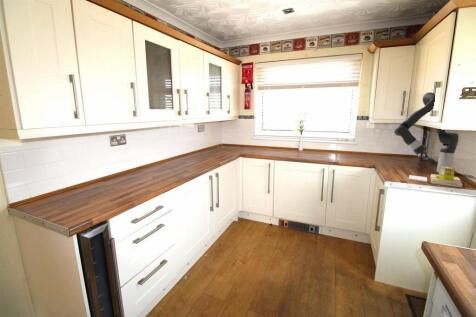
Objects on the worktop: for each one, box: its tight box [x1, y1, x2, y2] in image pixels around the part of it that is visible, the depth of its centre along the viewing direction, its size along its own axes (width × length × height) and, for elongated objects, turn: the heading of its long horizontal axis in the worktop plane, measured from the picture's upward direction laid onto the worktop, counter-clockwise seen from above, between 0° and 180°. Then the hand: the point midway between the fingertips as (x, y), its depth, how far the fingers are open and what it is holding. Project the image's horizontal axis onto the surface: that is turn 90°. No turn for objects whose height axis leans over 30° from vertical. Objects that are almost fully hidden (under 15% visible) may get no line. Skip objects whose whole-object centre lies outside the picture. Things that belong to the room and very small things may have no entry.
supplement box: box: [438, 167, 456, 181], centre depth 171 cm, size 6×6×11 cm
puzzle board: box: [429, 173, 463, 188], centre depth 172 cm, size 20×16×2 cm
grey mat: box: [408, 174, 428, 183], centre depth 179 cm, size 12×11×1 cm
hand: (433, 163), depth 174 cm, fingers open, 8 cm apart
